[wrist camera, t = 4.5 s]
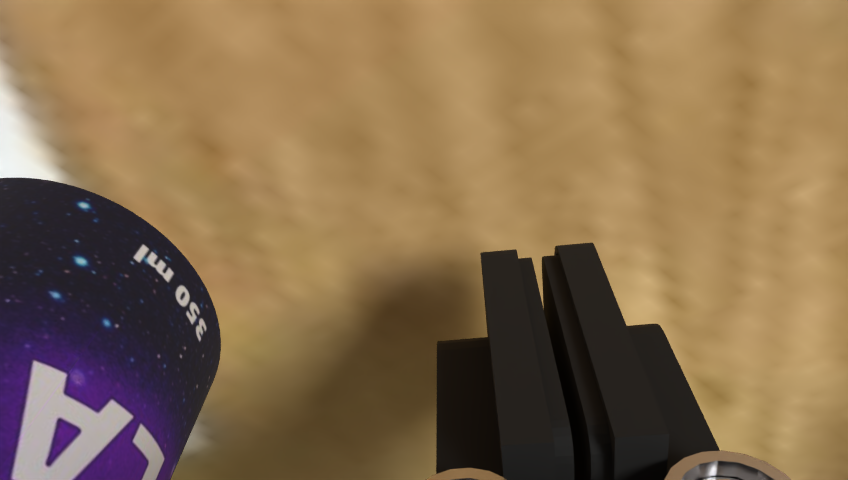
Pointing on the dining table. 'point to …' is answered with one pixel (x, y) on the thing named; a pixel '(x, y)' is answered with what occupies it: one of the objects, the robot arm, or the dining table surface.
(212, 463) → the dining table surface
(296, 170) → the dining table surface
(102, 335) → the beverage can
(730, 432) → the dining table surface
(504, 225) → the dining table surface
